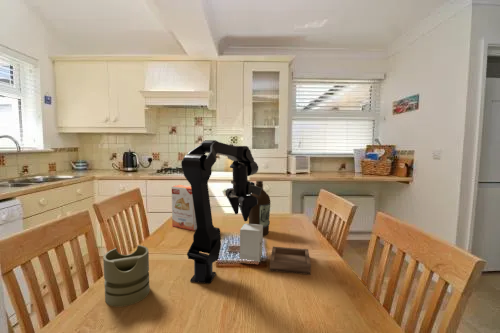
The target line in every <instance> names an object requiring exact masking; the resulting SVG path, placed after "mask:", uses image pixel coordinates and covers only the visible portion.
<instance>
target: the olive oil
mask: <svg viewBox="0 0 500 333" xmlns="http://www.w3.org/2000/svg"><path fill="white" fill-rule="evenodd" d="M255 186H258V187H260V188H262V190H261V193H260V196H258V195H256V194H253V193H251V195H253V196H255V197H256V198H257V199H258V204H257V205H256V206H254V207H252V208H251V211H250V214H249V217H248V224H259V225H263V237H264V236H267V235H269V232H270V222H271V221H270V215H271V198H270V196H269V194H268V193H267V192H266V191H265V189H264V181H263V180H256V181H255Z"/></svg>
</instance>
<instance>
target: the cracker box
mask: <svg viewBox="0 0 500 333" xmlns="http://www.w3.org/2000/svg"><path fill="white" fill-rule="evenodd" d="M171 216H172V217H171V225H172V227H175V228H179V229H183V230H188V231H193V232H195V231H196V229H197V225H196V218H195V211H194V204H193V197H192V190H191V185H184V184H175V185H172V186H171Z"/></svg>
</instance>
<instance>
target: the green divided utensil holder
mask: <svg viewBox="0 0 500 333" xmlns="http://www.w3.org/2000/svg"><path fill="white" fill-rule="evenodd" d="M149 254H150V253H149V248H148V247H147V246H145V245H141V244H137V248H136V249H135V251H133V252H132V253H129V254H123V253H120V252H118V249H117V247H115V248H113V249H110V250H108V251H107V252H106V253H104V255H103V257H102V259H103V278H104V283H103V284H104V302H105V303H106V305H108V306H110V307H115V308H116V307H117V308H118V307H120V308H122V307H126V306H131V305H134V304H136V303H138V302H141V301H143V299H144V300H145V298H147V296H148V295H149V293H150V272H149V271H150V258H149V256H150V255H149Z"/></svg>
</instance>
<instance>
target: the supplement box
mask: <svg viewBox="0 0 500 333" xmlns="http://www.w3.org/2000/svg"><path fill="white" fill-rule="evenodd" d="M263 238H264V236H263V225H259V224H249V223H244V224H243V225H242V227H241V228H240V230H239V260H240V259H247V260H254V261H258V262H260V263H261V261H260V259H261V260H262V258H261V256H262V257H263V245H264V244H263V240H264V239H263Z"/></svg>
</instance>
